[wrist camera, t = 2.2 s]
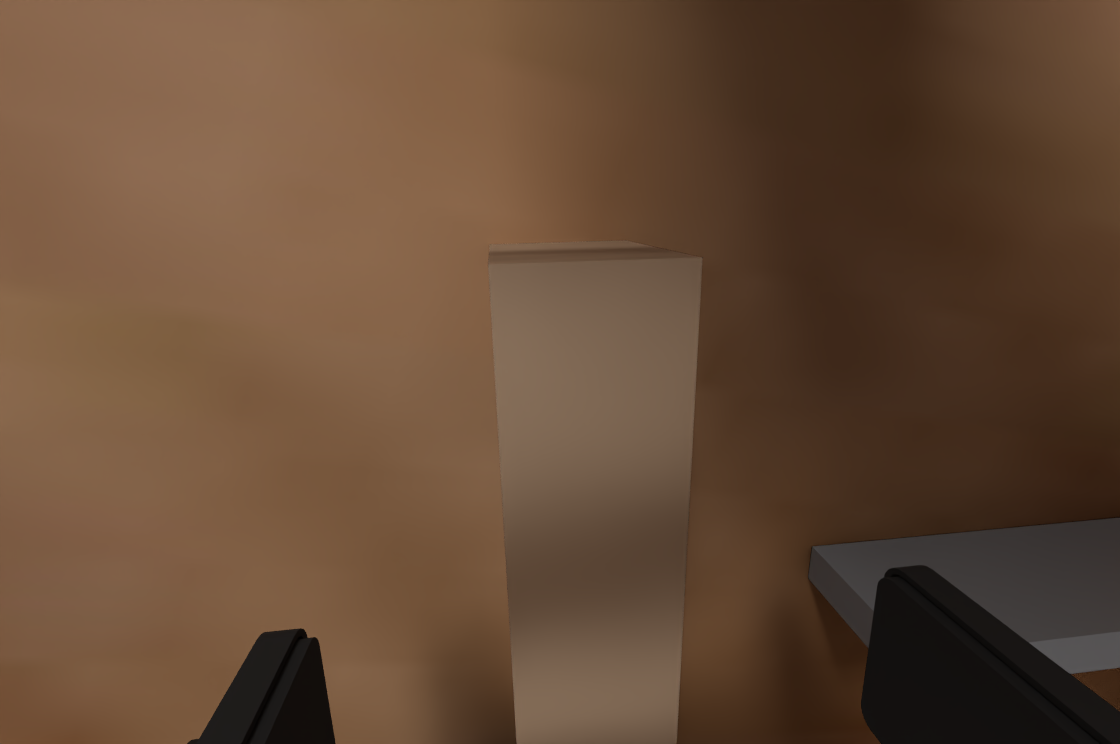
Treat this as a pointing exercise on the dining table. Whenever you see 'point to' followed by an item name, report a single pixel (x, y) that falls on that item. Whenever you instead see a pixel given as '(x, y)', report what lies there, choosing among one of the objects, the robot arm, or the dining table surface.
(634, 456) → the light brown rectangular block
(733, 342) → the dining table surface
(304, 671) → the robot arm
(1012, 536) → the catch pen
